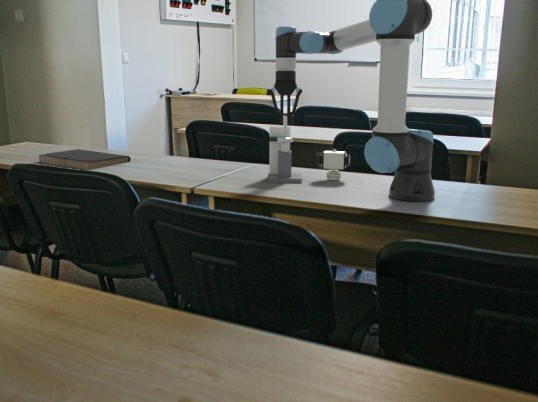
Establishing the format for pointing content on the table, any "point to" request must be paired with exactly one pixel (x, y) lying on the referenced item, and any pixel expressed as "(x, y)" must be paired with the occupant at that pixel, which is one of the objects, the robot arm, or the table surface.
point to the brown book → (83, 159)
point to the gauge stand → (280, 160)
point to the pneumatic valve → (334, 162)
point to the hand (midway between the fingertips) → (285, 133)
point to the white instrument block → (283, 142)
